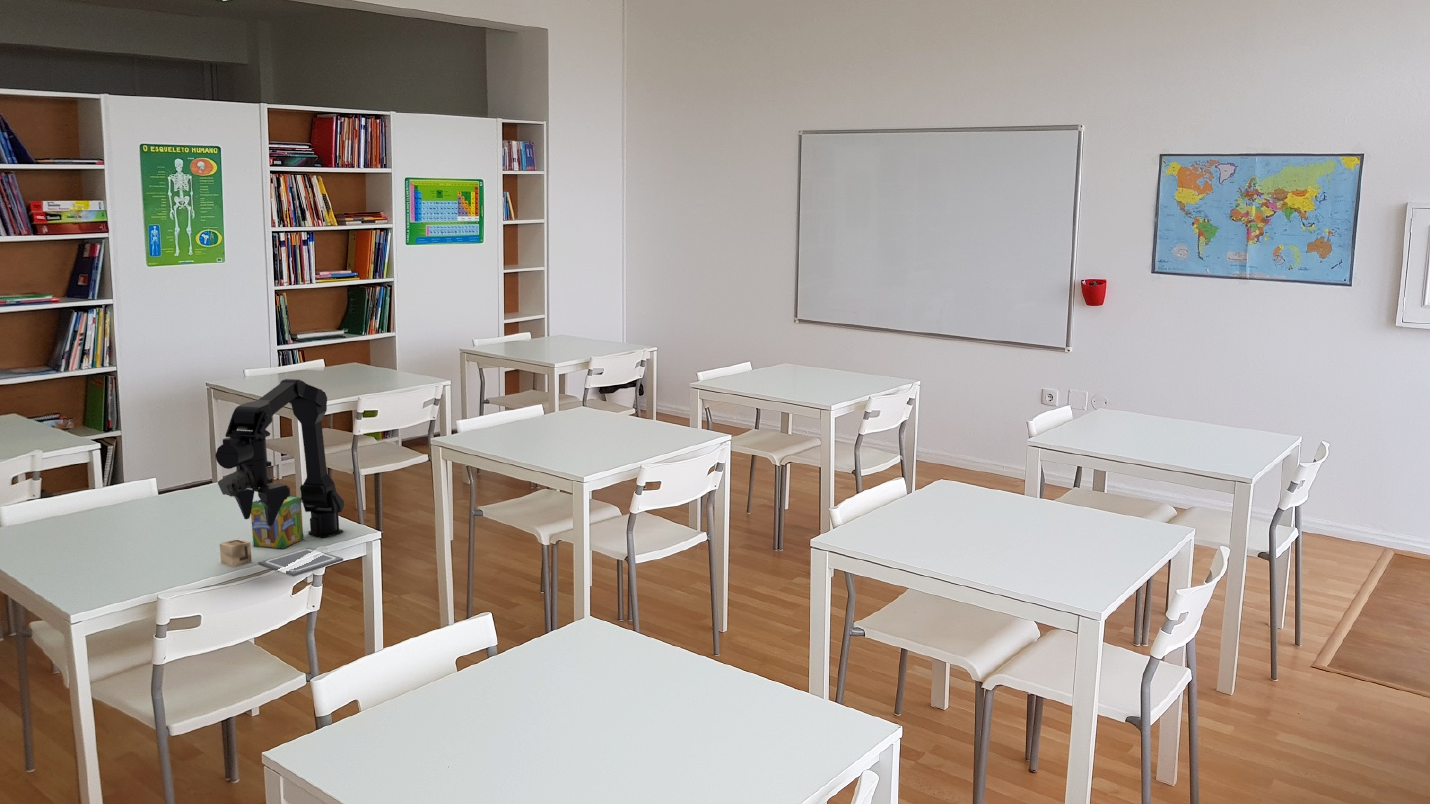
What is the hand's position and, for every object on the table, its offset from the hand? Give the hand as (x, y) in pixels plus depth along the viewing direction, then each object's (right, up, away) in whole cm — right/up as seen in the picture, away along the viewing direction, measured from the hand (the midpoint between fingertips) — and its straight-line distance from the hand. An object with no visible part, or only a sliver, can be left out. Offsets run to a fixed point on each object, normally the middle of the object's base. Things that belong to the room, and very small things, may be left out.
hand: (258, 522), depth 263 cm
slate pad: (+7, -11, +8) cm, 15 cm away
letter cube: (-9, -11, +8) cm, 16 cm away
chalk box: (-4, -8, +23) cm, 25 cm away
